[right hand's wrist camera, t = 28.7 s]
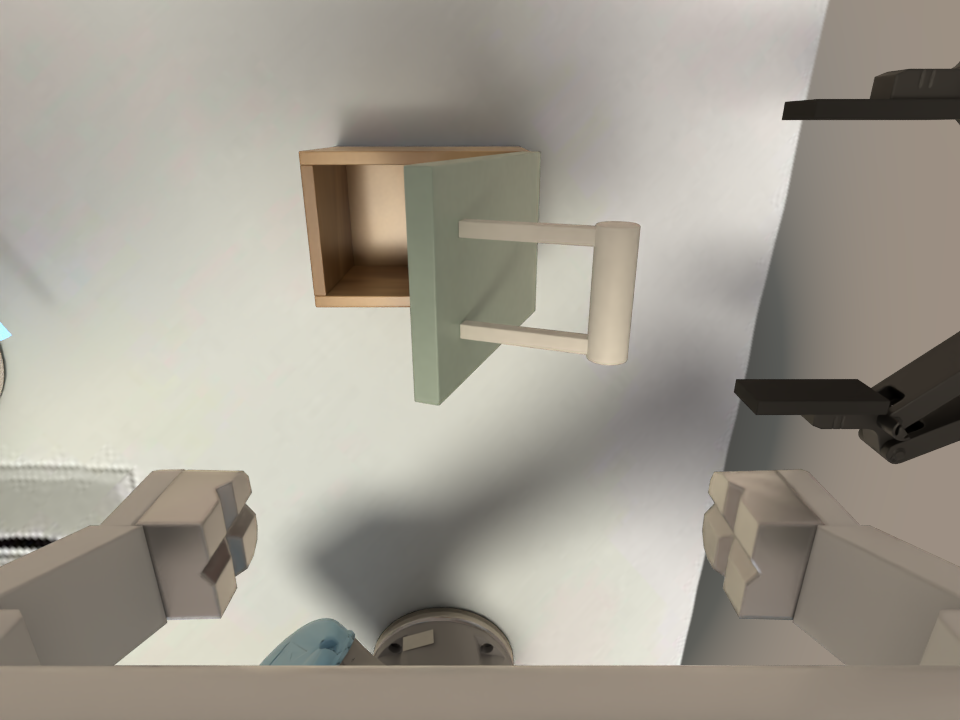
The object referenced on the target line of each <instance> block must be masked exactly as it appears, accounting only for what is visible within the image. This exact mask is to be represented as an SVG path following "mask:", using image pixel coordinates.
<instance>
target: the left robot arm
mask: <svg viewBox="0 0 960 720" xmlns="http://www.w3.org/2000/svg"><path fill="white" fill-rule="evenodd" d="M945 119H955V120H956V121H957V122H958V123H959V124H960V62H959V63H958V64H957V65H956V66H955V67H954V68H952V69H905V70H898V71H891V72H886V73H884V74H881V75H879V76H876V77H875V78H874V83H873V87H872V92H871V96H870V99H814V100H802V101H790V102H785V105H784V111H783V117H782V120H945ZM734 393H735V394H736V395H737V396H738V397H739V398H740V399H741V400H742V401H743V402H744V403H745V404H746V405H747V406H748V407H749V408H750V409H751V410H752V411H753V412H754V413H755V414H756V415H801V416H802V417H804V418H805V419H806V420H807V421H808V422H809V423H810V424H811V425H813V426H815V427H818V428H820V429H860V430H859V437H860V439H861V440H863V441H864V442H865V443H866V444H868V445H869V446H870V447H871V448H872V449H874V450H875V451H876V452H877V453H879V454H880V455H881V456H882V457H884V458H885V459H886V460H887V461H888V462H890V463H892V464H898V463H902V462H905V461H907V460H910V459H912V458H915V457H918V456H920V455H923V454H926V453H928V452H931V451H933V450H936V449H939V448H941V447H944V446H946V445H949V444H951V443H954V442H957V441H960V331H959V332H958V333H956V334H955V335H953V336H952V337H950V338H949V339H947V340H945V341H944V342H942V343H941V344H939V345H938V346H936V347H934V348H933V349H931V350H930V351H928V352H927V353H925V354H924V355H922V356H920V357H919V358H917V359H916V360H914V361H913V362H911V363H909V364H908V365H906V366H905V367H903V368H902V369H900V370H899V371H897V372H895V373H894V374H892V375H891V376H889V377H888V378H886V379H884V380H883V381H881V382H880V383H878V384H877V385H875V386H874V387H872V388H870V387H868V386H867V385H865V384H864V383H862V382H861V381H859V380H858V379H736V383H735V389H734ZM891 405H893V406H891ZM260 665H266V666H514V665H513V654H512V649H511V646H510V644H509V642H508V640H507V638H506V637H505V635H504V634H503V633H502V632H501V631H500V630H499V629H498V628H497V627H496V626H495V625H494V624H493V623H491V622H490V621H488V620H487V619H485V618H483V617H481V616H479V615H477V614H474V613H471V612H468V611H465V610H460V609H454V608H430V609H424V610H419V611H416V612H412V613H410V614H407V615H405V616H403V617H401V618H399V619H398V620H396V621H395V622H393V623H392V624H391V625H390V626H388V627H387V628H386V629H385V631H384V632H383V633H382V634H381V636H380V637H379V639H378V641H377V643H376V646H375V650H374V654H373V655H372V654H371V653H370V652H369V651H368V650H367V649H366V648H364V647H363V646H362V645H361V644H360V643H359V642H358V641H357V640H356V639H355V634H354V632H353V631H351V630H347V629H346V628H345V627H344V626H342V625H341V624H340V623H339V622H337V621H335V620H333V619H327V618H325V619H318V620H315V621H312V622H310V623H308V624H306V625H305V626H303V627H301V628H300V629H298V630H297V631H296V632H294V633H293V634H292V635H290V636H289V637H288V638H286V639H285V640H284V641H283V642H282V643H281V644H279V645H278V646H277V647H276V648H275V649H274V650H273V651H272V652H271V653H270V654H269V655H268V656H267V657H266V658H265V659H264V661H263V662H262V663H261V664H260Z"/></svg>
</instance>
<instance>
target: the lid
mask: <svg viewBox="0 0 960 720" xmlns="http://www.w3.org/2000/svg"><path fill="white" fill-rule="evenodd" d="M540 161H541V152H539V151H521V152H512V153H504V154H495V155H487V156H479V157H470V158H462V159H453V160H445V161H436V162H428V163H419V164H411V165H405V166H404V188H405V209H406V230H407V251H408V272H409V293H410V314H411V335H412V356H413V377H414V398H415V402H420V403H426V404H432V405H440V404H441V403H442V402H443V401H444V400H445V399H446V398H447V397H448V396H449V395H450V394H451V393H452V392H453V391H454V390H455V389H456V388H457V387H459V386H460V385H461V384H462V383H463V382H464V381H465V380H466V379H467V378H468V377H469V376H470V375H471V374H472V373H473V372H474V371H475V370H476V369H477V368H478V367H479V366H480V365H481V364H482V363H483V362H484V361H485V360H486V359H487V358H488V357H489V356H490V355H491V354H492V353H493V352H494V351H495V350H496V349H497V348H498V347H499V346H500V345H501V344H507V345H515V346H522V347H530V348H538V349H546V350H554V351H561V352H569V353H577V354H585V355H586V357H587V359H588V360H590V361H591V362H594V363H597V364H601V365H619V364H623V363H625V362H626V361H627V358H628V348H629V337H630V327H631V317H632V307H633V297H634V287H635V277H636V267H637V256H638V246H639V236H640V225H639V224H636V223H632V222H622V221H606V222H599V223H597V224H596V225H595V226H590V225H571V224H553V223H538V218H539V189H540ZM538 243H548V244H563V245H578V246H593V247H594V253H593V267H592V281H591V295H590V310H589V324H588V334H581V333H572V332H563V331H555V330H546V329H538V328H529V327H521V326H520V325H521V324H522V323H523V322H524V321H525V320H526V319H527V318H528V317H529V316H530V315H531V314H532V313H533V312H534V311H535V304H536V276H537V247H538Z"/></svg>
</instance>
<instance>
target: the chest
mask: <svg viewBox="0 0 960 720" xmlns="http://www.w3.org/2000/svg"><path fill="white" fill-rule="evenodd" d="M521 151H528V150H526V149H524V148H522V147H521V146H335V147H329V148H322V149H314V150H306V151H299V159H300V169H301V178H302V187H303V196H304V205H305V214H306V223H307V233H308V242H309V251H310V260H311V269H312V278H313V287H314V295H315V304H316V307H410V293H409V272H408V251H407V230H406V209H405V188H404V166H405V165H411V164H419V163H428V162H436V161H445V160H453V159H462V158H470V157H479V156H487V155H495V154H504V153H512V152H521Z"/></svg>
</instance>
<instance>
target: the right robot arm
mask: <svg viewBox="0 0 960 720" xmlns="http://www.w3.org/2000/svg"><path fill="white" fill-rule="evenodd" d="M10 336H11V334H10V333H9V332H8V331H7V330H6V329H5V327H4V326H3V325H2V324H1V323H0V340H3V339H5V338H8V337H10ZM3 382H4V366H3V360H2V356H1V352H0V394H1V391H2V388H3ZM251 493H252V490H251V485H250V481H249V476H248V475H247V474H246V473H245V472H244V471H227V470H184V469H174V470H156V471H152V472H151V473H150V474H149V475H148V476H147V477H146V478H145V479H144V480H143V481H142V482H141V483H140V484H139V485H138V486H137V487H136V488H135V489H134V491H133V492H132V493H131V494H130V495H129V496H128V497H127V498H126V499H125V500H124V501H123V502H122V503H121V504H120V505H119V506H118V507H117V508H116V509H115V510H114V511H113V512H112V513H111V514H110V515H109V516H108V517H107V518H106V519H105V520H104V521H103V522H102V523H101V525H91V526H88V527H86V528H83V529H81V530H79V531H77V532H75V533H73V534H70V535H68V536H66V537H64V538H62V539H59V540H57V541H55V542H53V543H51V544H49V545H46V546H44V547H42V548H40V549H38V550H36V551H33V552H31V553H29V554H27V555H25V556H22V557H20V558H18V559H16V560H14V561H12V562H9V563H7V564H5V565H3V566H1V567H0V720H960V567H959V566H957V565H955V564H953V563H950V562H948V561H946V560H944V559H942V558H940V557H937V556H935V555H933V554H931V553H929V552H926V551H924V550H922V549H920V548H918V547H916V546H913V545H911V544H909V543H907V542H905V541H903V540H900V539H898V538H896V537H894V536H892V535H890V534H887V533H885V532H883V531H881V530H879V529H877V528H874V527H872V526H868V525H860V524H859V523H858V522H857V521H856V520H855V519H854V518H853V517H852V516H851V515H850V514H849V513H848V512H847V511H846V510H845V509H844V508H843V507H842V506H841V505H840V504H839V503H838V502H837V501H836V500H835V499H834V498H833V497H832V496H831V495H830V493H829V492H828V491H827V490H826V489H825V488H824V487H823V486H822V485H821V484H820V483H819V482H818V481H817V480H816V479H815V478H814V477H813V476H812V475H811V474H810V473H809V472H807V471H804V470H802V469H791V470H767V471H728V472H714V473H713V475H712V478H711V480H710V484H709V490H708V493H709V495H710V496H711V498H712V500H713V501H714V503H715V504H714V505H713V506H712V507H711V508H710V509H709V510H708V511H707V512H706V513H705V514H704V520H703V528H702V533H703V545H704V549H705V552H706V556H707V558H708V560H709V562H710V564H711V566H712V568H713V569H714V570H716V571H717V572H719V573H720V574H722V575H723V576H724V577H725V578H724V584H723V589H724V591H725V593H726V595H727V597H728V598H729V600H730V602H731V604H732V606H733V608H734V610H735V611H736V613H737V615H738V617H739V618H740V619H775V620H793V623H794V624H795V625H797V626H798V627H799V628H800V629H802V630H803V631H804V632H805V633H807V634H808V635H809V636H810V637H812V638H813V639H814V640H815V641H817V642H818V643H819V644H820V645H821V646H823V647H824V648H825V649H826V650H828V651H829V652H830V653H831V654H833V655H834V656H835V657H837V658H838V659H839V660H840V661H841V662H843V663H844V664H845V665H686V666H685V665H556V666H266V665H115V664H116V663H117V662H119V661H120V660H121V659H122V658H124V657H125V656H126V655H127V654H129V653H130V652H131V651H132V650H134V649H135V648H136V647H137V646H139V645H140V644H141V643H142V642H144V641H145V640H146V639H147V638H149V637H150V636H151V635H152V634H154V633H155V632H156V631H157V630H159V629H160V628H161V627H162V626H164V625H165V624H166V623H167V620H184V619H219V618H221V617H222V615H223V613H224V612H225V610H226V608H227V606H228V604H229V602H230V600H231V598H232V597H233V595H234V593H235V591H236V589H237V584H236V578H235V577H236V576H237V575H238V574H240V573H241V572H243V571H244V570H246V569H247V568H248V566H249V564H250V562H251V560H252V558H253V556H254V552H255V548H256V543H257V520H256V514H255V513H254V512H253V511H252V510H251V509H250V508H249V507H248V506H247V505H246V504H245V503H246V501H247V500H248V498H249V496H250V495H251Z"/></svg>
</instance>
